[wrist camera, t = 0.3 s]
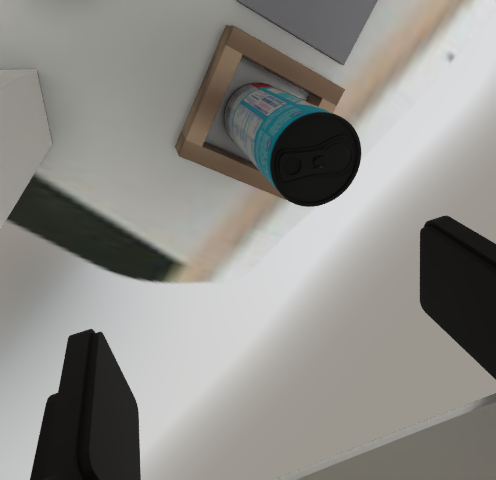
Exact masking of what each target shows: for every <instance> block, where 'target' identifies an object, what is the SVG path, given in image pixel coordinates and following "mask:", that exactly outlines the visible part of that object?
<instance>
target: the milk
mask: <svg viewBox="0 0 496 480" xmlns="http://www.w3.org/2000/svg"><path fill="white" fill-rule="evenodd" d="M51 145H52V140H51V135H50V130H49V125H48V121H47V116H46V111H45V107H44V102H43V97H42V92H41V88H40V83H39V78H38V73H37V70H36V69H16V70H0V229H1V227H2V226H3V224H4V222H5V221H6V219H7V218H8V216H9V214H10V213H11V211H12V209H13V208H14V206H15V204H16V203H17V201H18V200H19V198H20V196H21V195H22V193H23V191H24V190H25V188H26V186H27V185H28V183H29V182H30V180H31V178H32V177H33V175H34V173H35V172H36V170H37V168H38V167H39V165H40V163H41V162H42V160H43V159H44V157H45V155H46V154H47V152H48V150H49V149H50V147H51Z"/></svg>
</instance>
